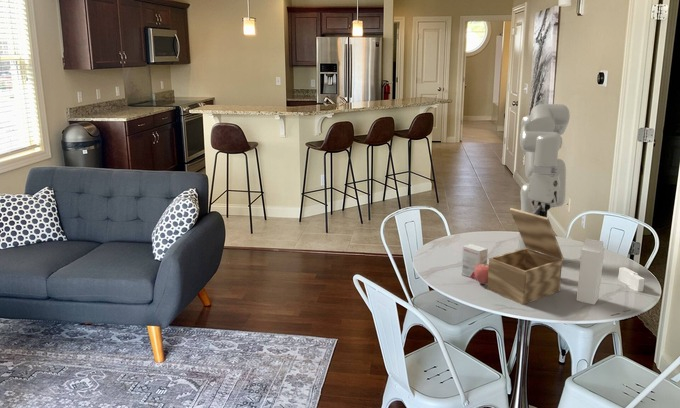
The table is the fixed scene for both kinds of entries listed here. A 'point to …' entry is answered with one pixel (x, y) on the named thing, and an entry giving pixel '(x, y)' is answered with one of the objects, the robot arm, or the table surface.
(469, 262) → the ink box
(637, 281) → the white stepped block
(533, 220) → the lid
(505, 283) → the wooden box
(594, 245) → the milk
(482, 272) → the apple
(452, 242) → the table surface
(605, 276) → the table surface
